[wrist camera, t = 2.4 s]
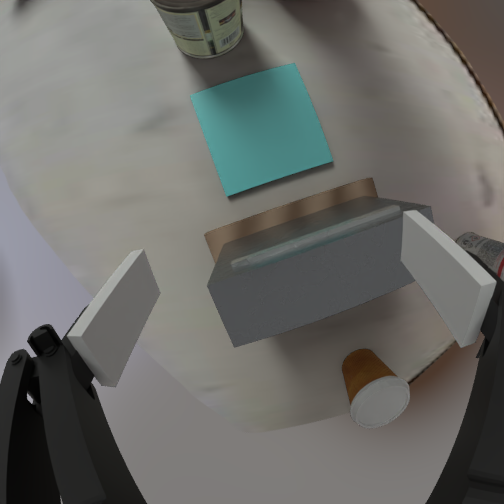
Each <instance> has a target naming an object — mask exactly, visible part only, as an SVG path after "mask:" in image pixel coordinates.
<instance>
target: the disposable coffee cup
mask: <svg viewBox="0 0 504 504" xmlns="http://www.w3.org/2000/svg"><path fill="white" fill-rule="evenodd" d="M342 371H343V375H344V379H345V383H346V388H347V392H348V396H349V401H350V405H351V408H350V415H351V418H352V419H353V421H354V422H356V423H358V424H359V425H360V426H361V427H364V428H377V427H380V426H383V425H386V424H388V423H390V422H391V421H393V420H394V419H396V418H397V417H398V416H399V415H400V414H401V413H402V412H403V411H404V410H405V408H406V406H407V405H408V403H409V399H410V394H409V385H408V383H407V382H406V381H405V380H404V379H401V378H399V377H397V376H396V375H395V374H394V373H393V372H392V371H391V370H390V369H389V368H388V367H387V366H386V365H385V364H384V363H383V362H382V361H381V360H380V359H379V358H378V357H377V356H376V355H375V354H374V353H373V352H372V351H371V350H368V349H359V350H356V351H354V352H352V353H351V354H350V355H349V356H347V358H346V359H345V360H344V362H343V365H342Z"/></svg>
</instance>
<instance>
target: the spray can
mask: <svg viewBox="0 0 504 504" xmlns="http://www.w3.org/2000/svg"><path fill="white" fill-rule="evenodd" d="M456 243H457V244H458V245H459V246H460V247H461V248H462V249H463V250H464V251H465V250H467V251H469V252H471V253H473V254H475V255H477V256H478V257H479V258H480V259H481V260H482V261H483V263H485V264H486V265H487V266H488V268H490V269H491V270H493V271H494V272H495V273H496V274H497V275H498V276H499V277H500V278H501V279H502V280H503V281H504V243H502V242H499V241H495V240H492V239H488V238H485V237H482V236H479V235H476V234H474V233H472V232H471V233H466V234H464V235H462V236H461V237H459V238H458V239H457V241H456Z"/></svg>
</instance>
